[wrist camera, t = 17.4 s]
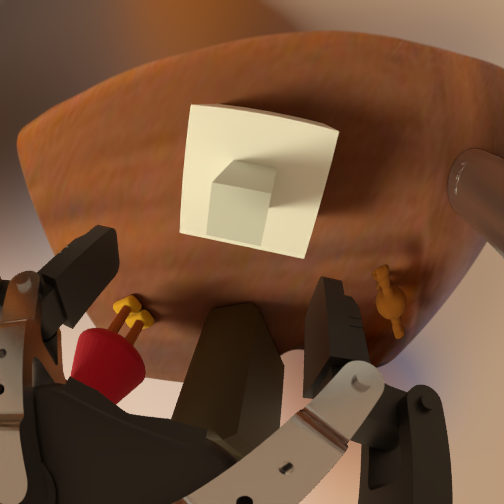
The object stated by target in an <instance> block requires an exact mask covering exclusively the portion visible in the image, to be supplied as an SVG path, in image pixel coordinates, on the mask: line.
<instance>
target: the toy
mask: <svg viewBox="0 0 504 504" xmlns="http://www.w3.org/2000/svg"><path fill="white" fill-rule="evenodd" d="M141 308H142V305H141V303H140V302H139V301H138V300H137V299H136V298H135V297H134V296H133V295H129V296H127V297H125V298H123V299H121V300H119V301H117V302H115V303H114V305H113V309H114V310H115V312H116V313H117V316H116V317H115V319H114V320H113V322H112V323H111V325H110V326H109V328H108V329H103V328H91V329H87V330H85V331H83V332H82V333H81V334H80V336H79V339H78V343H77V347H76V352H75V356H74V361H73V366H72V371H71V377H72V378H74V379H76V380H78V381H80V382H82V383H84V384H86V385H88V386H90V387H92V388H94V389H96V390H98V391H99V392H100V393H102V394H103V395H104V396H105V397H106V398H108V399H109V400H110V401H112V402H113V403H114V404H115V405H116V404H117V403H118V402H119V401H120V400H122V399H123V398H124V397H125V396H126V395H128V394H129V393H130V392H131V391H132V390H133V389H135V388H136V387H137V386H138V385H139V384H140V383H141V382H143V380H144V378H145V374H146V372H145V366H144V363H143V360H142V358H141V356H140V355H139V353H138V351H137V350H136V349H135V348H134V347H133V345H134V343H135V341H136V339H137V337H138V336H139V334H140V332H141V330H142V329H145V328H148V327H151V326H152V325H153V323H154V318H153V317H152V316H151V314H150V313H149V312H148V311H147V310H141ZM140 310H141V311H140ZM125 321H126V323H127V325H128V326H129V327H130V328H131V329H130V331H129V332H128V334H127V336H126V338H124V337H122V336H121V335H119V334H117V333H118V332H119V330H120V329H121V327H122V325H123V324H124V322H125ZM65 380H66V379H65ZM66 382H67V380H66Z"/></svg>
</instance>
